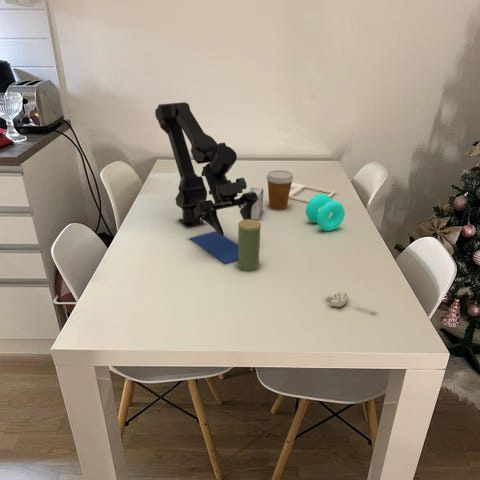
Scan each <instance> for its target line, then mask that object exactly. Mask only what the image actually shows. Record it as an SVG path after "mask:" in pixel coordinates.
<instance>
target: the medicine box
mask: <svg viewBox="0 0 480 480" xmlns="http://www.w3.org/2000/svg"><path fill="white" fill-rule="evenodd" d="M248 192H255V193H256V194H257V196H258V200H257V201H256V202H255V204H254V205H253V206H252V210H251V219H252V220H257V221H258V220H260V218H261V215H262V213H263V208H264V188H263V187H255V186H254V187H253V186H252V187H251V188H250V189H249V191H248Z"/></svg>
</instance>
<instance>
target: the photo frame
mask: <svg viewBox="0 0 480 480" xmlns="http://www.w3.org/2000/svg"><path fill="white" fill-rule="evenodd" d="M303 189H307V190H312V191H318V192H323V193H327V195H328V196H329V197H330V198H331V197H332V196H334V195H335V194H336V191H335V190H330V189H327V188H322V187H321V188H320V187H316V186H312V185H307V184H302V183H297V182H292V183H291V188H290V193H289V198H288V199H290V200H294V201H300V202H304V203H308V202H309V201H310V199H308V198H303V197H300V196H295V195H296V194H298V193H299V192H300V191H302V190H303Z"/></svg>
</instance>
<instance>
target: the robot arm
mask: <svg viewBox="0 0 480 480" xmlns="http://www.w3.org/2000/svg"><path fill="white" fill-rule="evenodd" d="M154 114H155V115H154V116H155V119H156V120H157V121H158V125H159V127H160V128H161V130H163V132H164V133H165V134H167V136H168V139H169V143H170V147H171V150H172V153H173V156H174V160H175V163H176V167H177V170H178V173H179V178H180V180H179V184H178V193H177V195H176V197H175V204H176V206H177V207H179V208H180V209H181V211H182V212H181V213H182V218H180V219H178V222H179V223H181V225H183V226H185V227H186V228H191V227H196V226H201V225H204V224H205V223H207V224H208V225H209V226H210V227H212V229H214V231H217V232H218V233H219V234H220V235H221V236H225V233H224V230H223V227H222V225H221V222H220V220H219V218H218V213H217V212H218V211H219V210H223V209H229V208H233V207H237V206H238V208H239V209H240V210H239V214H240V215H241V217H242V220H246V219H251V210H252V206H253V205H254V204H255V202H256V201H257V200H258V196H257V194H256V193H255V192H249V191H248V192H244V193H243V190H246V189H247V188H248V185H247V181H246V180H245V178H244V177H239V178H236V179H235V181H233V182H232V181H231V179H228V178H227V176H226V175H227V174H228V173H229V171H230V170H231V169H232V167H234V164H235V163H236V162H237V160H238V156H237V152H236V151H235V150H234V149H233V148H232V147H230V146H228V145H227V144H226V142H217V141H216V140H215V139H214V138H213V137H212V136H211V135H209V134H206V133H205V132H204V130H203V129H202V127H201V125H200V123H199V122H198V121H197V119H196V117H195V116H194V114H193V112H192V110H191V107H190V104H189V103H188V102H185V101H182V102H172V103H171V102H170V103H161V104H158V105H157V108H155V112H154ZM185 136H186V137H187V140H188V141H189V143H190V146H191V147H190V151H189V148H188V145H187V142H186V138H185ZM190 153H191V154H190ZM191 156H192V158H191ZM192 159H193V160H194V162H195V163H196V164H198V165H201V164H205V166H202V171H201V175H200V176H198V174H196V172H195V168H194V166H193V165H194V164H193V161H192ZM203 177H204V178H205V180H206V183H207V185H208V188H209V190H207V187H206V185H205V181H204V178H203ZM208 194H209V196H211V197H212V199H213V200H212V199H207V197H208ZM238 194H241V196H240V197H239V198H237V197H238V196H239V195H238Z"/></svg>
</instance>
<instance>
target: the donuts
mask: <svg viewBox="0 0 480 480" xmlns="http://www.w3.org/2000/svg"><path fill="white" fill-rule="evenodd" d="M328 195H329V194H325V193H318V194H315V195H314V196H312V197H311V198H310V199H309V200H310V201H309V202H307V204H306V207H305V215H306V217H307V219H308V220H309V221H310V222H311V223H314V224H317V225H318V227H319V228H320V229H321V230H323V231H326V232H331V231H334V230H335V229H337V228H338V227H340V225H341V224H342V223H343V221H344V219H345V214H346V213H345V211H346V210H345V207H344V205H343V203H341V202H340V201H338V200H332V198H331V197H329V196H328Z"/></svg>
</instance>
